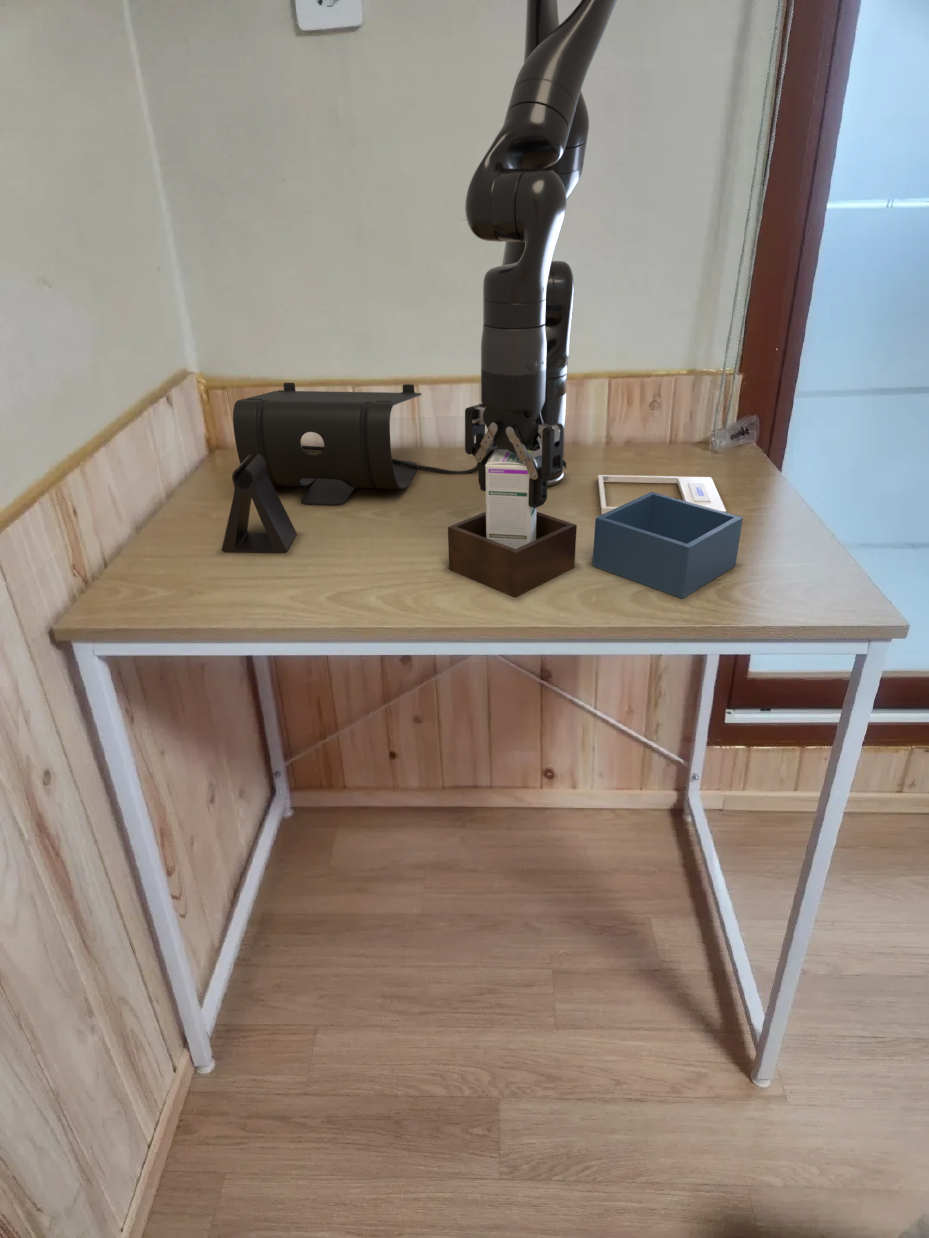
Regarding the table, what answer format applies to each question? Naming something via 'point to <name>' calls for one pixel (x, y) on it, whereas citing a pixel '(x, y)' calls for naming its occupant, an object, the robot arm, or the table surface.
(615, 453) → the table surface
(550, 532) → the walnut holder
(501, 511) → the syrup box
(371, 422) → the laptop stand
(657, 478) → the photo frame
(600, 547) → the blue tote
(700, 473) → the table surface
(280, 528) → the phone stand
